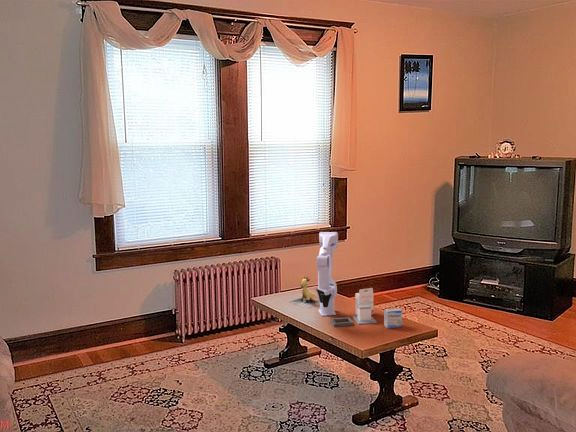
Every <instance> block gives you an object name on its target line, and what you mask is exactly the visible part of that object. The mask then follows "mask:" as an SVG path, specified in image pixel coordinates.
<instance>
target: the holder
mask: <svg viewBox="0 0 576 432" xmlns="http://www.w3.org/2000/svg"><path fill="white" fill-rule="evenodd" d="M330 323H331V324H332V326H333V327H334V328H335V327H347V326H349V327H350V326H354V323H355V322H354V321H353V320H352V319H351V317H350V316H349V317H348V316H347V317H338V318H337V317H335V318H330Z"/></svg>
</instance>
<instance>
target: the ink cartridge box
mask: <svg viewBox="0 0 576 432" xmlns="http://www.w3.org/2000/svg"><path fill="white" fill-rule="evenodd" d="M354 294H355V295H354V297H355V300H354V301H355V306H354V307H355V316H358V314H357V305H368V304H369V305H370V306H371V316H373V315H374V314H375V313H374V311H375V309H374V306H375V305H374V301H375V299H374V289H373V287H370V288H363V289H362V288H361V289H359V292H356V293H354Z"/></svg>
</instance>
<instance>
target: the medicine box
mask: <svg viewBox="0 0 576 432" xmlns="http://www.w3.org/2000/svg"><path fill="white" fill-rule="evenodd" d="M383 319H384V320H383V326H384V327H385V328H386V329H397V328H402V327H403V310H402V309H401V308H399V307H398V308H396V307H395V308H387V309H383Z"/></svg>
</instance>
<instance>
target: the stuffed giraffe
mask: <svg viewBox="0 0 576 432" xmlns="http://www.w3.org/2000/svg"><path fill="white" fill-rule="evenodd" d="M310 280H311V279H310V278H309V276H306V275H305V276H304V277H303V278H302V280H301V282H300V288H302V292H301V293H302V294H301V295H302V296H301V297H300V298H297V299H294V300H292V301H289V303H290V304H291V303H293V304H295V305H296V306H300V307H304V306H307V305H308V309H309V308H310V309H311V306H313V305H314V306H319V305H320V300H319V299H318V301H317V302H315V298H317V296H316V295H315V293H314V292H313V291H311V290H308V283H309V282H310Z"/></svg>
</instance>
